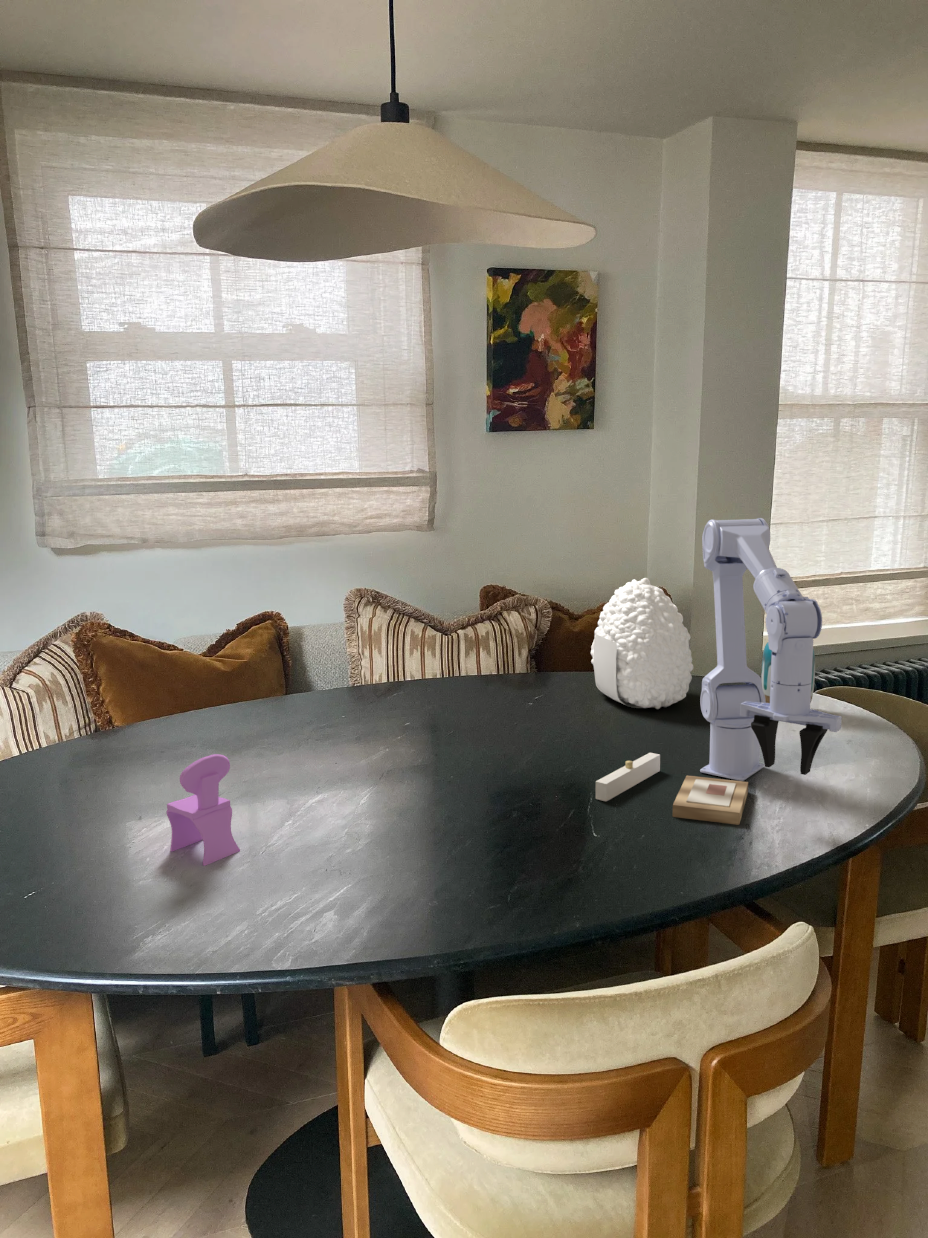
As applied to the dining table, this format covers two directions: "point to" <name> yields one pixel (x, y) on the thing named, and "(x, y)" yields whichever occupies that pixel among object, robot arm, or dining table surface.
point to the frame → (711, 800)
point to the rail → (627, 776)
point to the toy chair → (203, 810)
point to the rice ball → (642, 648)
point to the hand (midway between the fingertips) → (787, 769)
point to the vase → (767, 673)
